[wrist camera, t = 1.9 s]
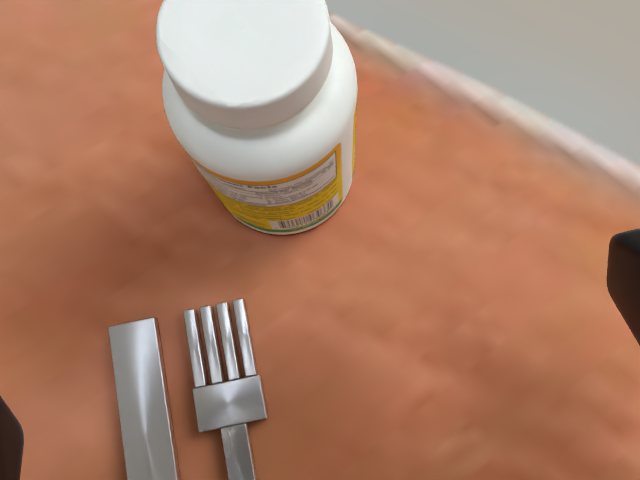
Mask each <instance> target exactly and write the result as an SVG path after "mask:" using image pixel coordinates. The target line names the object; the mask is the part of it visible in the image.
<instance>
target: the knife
mask: <svg viewBox="0 0 640 480" xmlns="http://www.w3.org/2000/svg"><path fill="white" fill-rule="evenodd" d="M108 330H109V338H110V346H111V353H112V361H113V369H114V377H115V385H116V393H117V401H118V409H119V417H120V425H121V433H122V441H123V449H124V456H125V464H126V472H127V480H181V479H180V472H179V465H178V458H177V451H176V444H175V438H174V431H173V424H172V417H171V410H170V403H169V396H168V389H167V382H166V375H165V369H164V362H163V355H162V348H161V341H160V334H159V327H158V320H157V318H155V317H151V318H147V319H142V320H137V321H133V322H128V323H123V324H118V325H114V326H109V327H108Z"/></svg>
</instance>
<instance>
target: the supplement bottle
mask: <svg viewBox="0 0 640 480" xmlns="http://www.w3.org/2000/svg"><path fill="white" fill-rule="evenodd" d="M156 42H157V48H158V52H159V56H160V59H161V61H162V64H163V66H164V68H165V70H164V75H163V87H162V93H163V102H164V108H165V113H166V116H167V119H168V122H169V125H170V127H171V129H172V131H173V133H174V135H175V136H176V138H177V140H178V141H179V143H180V144H181V146H182V147H183V149H184V150H185V152H186V153H187V154H188V156H189V157H190V159H191V160H192V161H193V163H194V164H195V166H196V167H197V168H198V170H199V171H200V173H201V174H202V175H203V177H204V178H205V179H206V181H207V182H208V183H209V185H210V186H211V188H212V189H213V190H214V192H215V193H216V195H217V196H218V198H219V199H220V201H221V202H222V203H223V205H224V206H225V207H226V209H227V210H228V211H229V212H230V213H231V214H232V215H233V216H234V217H235V218H236V219H237V220H239V221H240V222H242V223H243V224H245V225H246V226H248V227H250V228H253V229H255V230H258V231H261V232H264V233H269V234H278V235H286V234H294V233H299V232H303V231H306V230H309V229H311V228H314V227H316V226H318V225H319V224H321V223H323V222H324V221H326V220H327V219H328V218H329V217H331V216H332V215H333V214H334V213H335V212H336V211H337V209H338V208H339V207H340V206H341V204H342V203H343V201H344V200H345V198H346V196H347V194H348V192H349V190H350V187H351V183H352V180H353V174H354V161H355V131H356V110H357V76H356V69H355V65H354V61H353V58H352V55H351V52H350V50H349V48H348V46H347V44H346V42H345V40H344V39H343V37H342V36H341V34H340V33H339V31H338V30H337V29H336V28H335V26H334V25H333V24H332V23H331V22H330V19H329V12H328V8H327V5H326V3H325V0H164V1H163V3H162V5H161V8H160V11H159V14H158V18H157V25H156Z"/></svg>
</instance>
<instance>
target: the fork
mask: <svg viewBox="0 0 640 480" xmlns="http://www.w3.org/2000/svg"><path fill="white" fill-rule="evenodd" d="M232 302H233V308H234V314H235V319H236V325H237V331H238V337H239V342H240V348H241V354H242V360H243V365H244V371H245V376H246V377H245V378H241V373H240V367H239V361H238V356H237V350H236V344H235V338H234V332H233V327H232V321H231V315H230V309H229V304H228V303H227V302H222V303H217V304H216V308H217V314H218V320H219V326H220V332H221V338H222V344H223V350H224V356H225V362H226V368H227V374H228V380H229V381H226V382H224V381H225V380H224V374H223V368H222V362H221V356H220V350H219V344H218V338H217V332H216V326H215V320H214V314H213V308H212V306H210V305H207V306H203V307H200V314H201V320H202V326H203V333H204V339H205V345H206V351H207V357H208V364H209V370H210V376H211V382H212V385H208V381H207V375H206V369H205V362H204V356H203V350H202V344H201V337H200V331H199V325H198V319H197V312H196V310H195V309H189V310H184V311H183V314H184V320H185V327H186V333H187V340H188V346H189V352H190V359H191V365H192V372H193V378H194V385H195V388H193V390H192V391H193V397H194V404H195V410H196V417H197V423H198V430H199V432H205V431H210V430H215V429H219V428H221V435H222V441H223V447H224V454H225V460H226V466H227V472H228V478H229V480H257V474H256V469H255V463H254V457H253V451H252V445H251V440H250V434H249V428H248V422H252V421H257V420H262V419H266V418H268V412H267V406H266V400H265V395H264V389H263V384H262V378H261V375H258V372H257V366H256V361H255V355H254V349H253V344H252V338H251V333H250V327H249V321H248V316H247V310H246V305H245V300H244V299H243V298H241V299H236V300H233V301H232Z"/></svg>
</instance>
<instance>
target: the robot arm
mask: <svg viewBox="0 0 640 480" xmlns="http://www.w3.org/2000/svg"><path fill="white" fill-rule="evenodd" d="M607 287H608V291H609V293H610V296H611V298H612V299H613V301H614V303H615V305H616V306H617V308H618V310H619V311H620V313H621V315H622V316H623V318H624V320H625V322H626V323H627V325H628V327H629V328H630V330H631V332H632V333H633V335H634V337H635V338H636V340H637V342H638V344H639V345H640V229H635V230H631V231H627V232H623V233H618V234H616V235H614V236H613V237H612V238H611V240H610V244H609V255H608V268H607ZM23 445H24V434H23V430H22V427H21V425H20V423H19V422H18V420H17V419H16V417H15V416H14V415H13V413H12V412H11V410H10V409H9V407H8V406H7V405H6V403H5V402H4V400H3V399H2V398H1V396H0V480H20V472H21V463H22V454H23Z"/></svg>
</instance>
